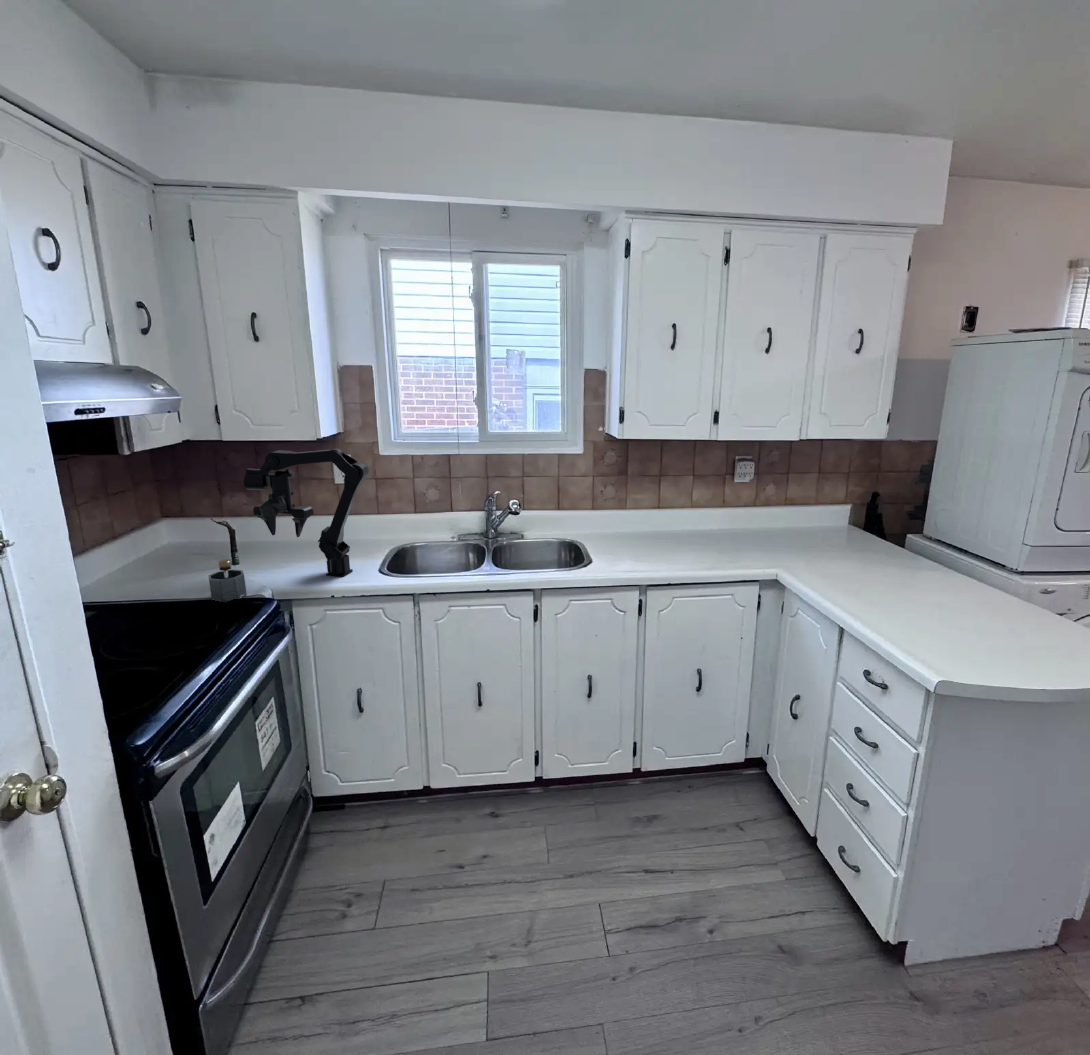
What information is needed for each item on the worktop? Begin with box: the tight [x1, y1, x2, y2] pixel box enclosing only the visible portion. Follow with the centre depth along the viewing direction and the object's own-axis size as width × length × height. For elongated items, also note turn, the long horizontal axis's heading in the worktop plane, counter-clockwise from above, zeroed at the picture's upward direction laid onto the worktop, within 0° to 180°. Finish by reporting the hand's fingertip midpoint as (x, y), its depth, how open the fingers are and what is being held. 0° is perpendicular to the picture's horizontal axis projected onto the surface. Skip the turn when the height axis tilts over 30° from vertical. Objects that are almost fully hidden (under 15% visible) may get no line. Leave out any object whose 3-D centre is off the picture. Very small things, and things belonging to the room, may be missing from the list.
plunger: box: [217, 559, 232, 579], centre depth 165 cm, size 7×7×10 cm
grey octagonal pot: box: [208, 569, 247, 604], centre depth 166 cm, size 9×9×7 cm
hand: (285, 536), depth 184 cm, fingers open, 9 cm apart
